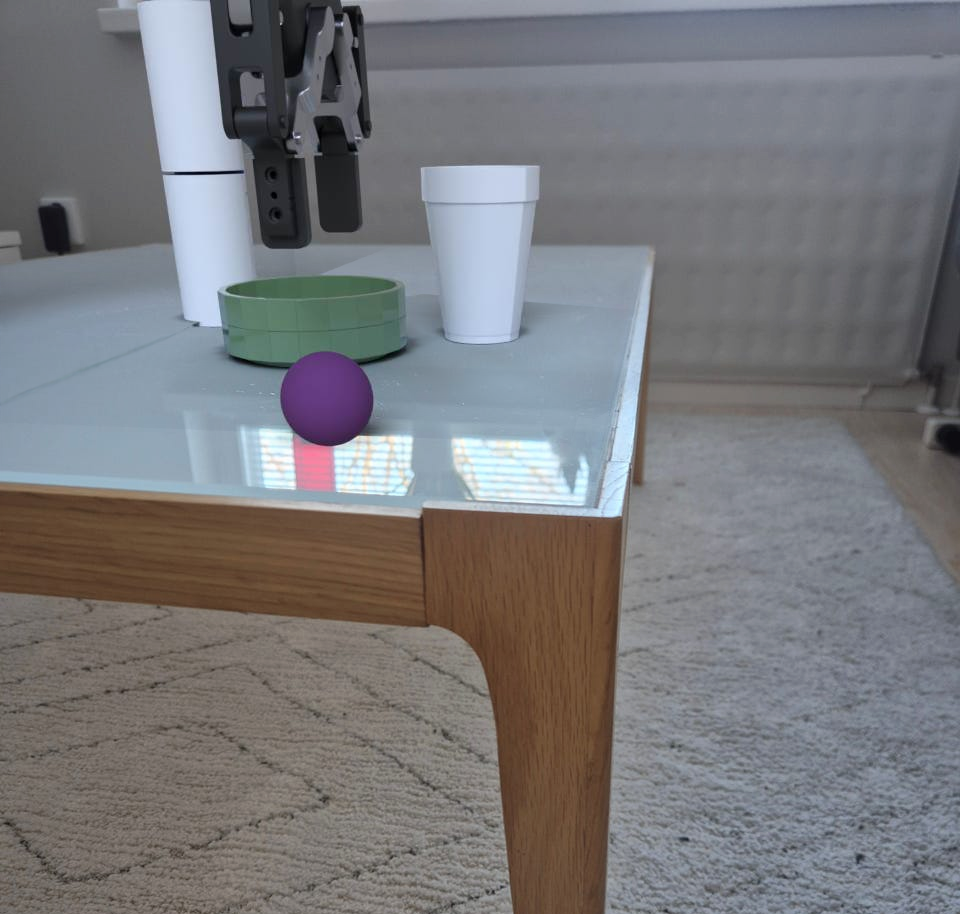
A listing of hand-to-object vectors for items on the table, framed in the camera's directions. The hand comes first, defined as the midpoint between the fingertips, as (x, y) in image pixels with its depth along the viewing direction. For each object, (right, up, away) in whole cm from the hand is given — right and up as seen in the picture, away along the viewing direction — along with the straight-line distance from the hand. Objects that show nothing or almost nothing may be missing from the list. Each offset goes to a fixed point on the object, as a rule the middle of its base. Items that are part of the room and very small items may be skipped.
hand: (316, 239), depth 47 cm
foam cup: (+8, +6, +33) cm, 35 cm away
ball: (0, -7, +4) cm, 8 cm away
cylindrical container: (-16, +10, +43) cm, 47 cm away
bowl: (-5, +3, +28) cm, 29 cm away
